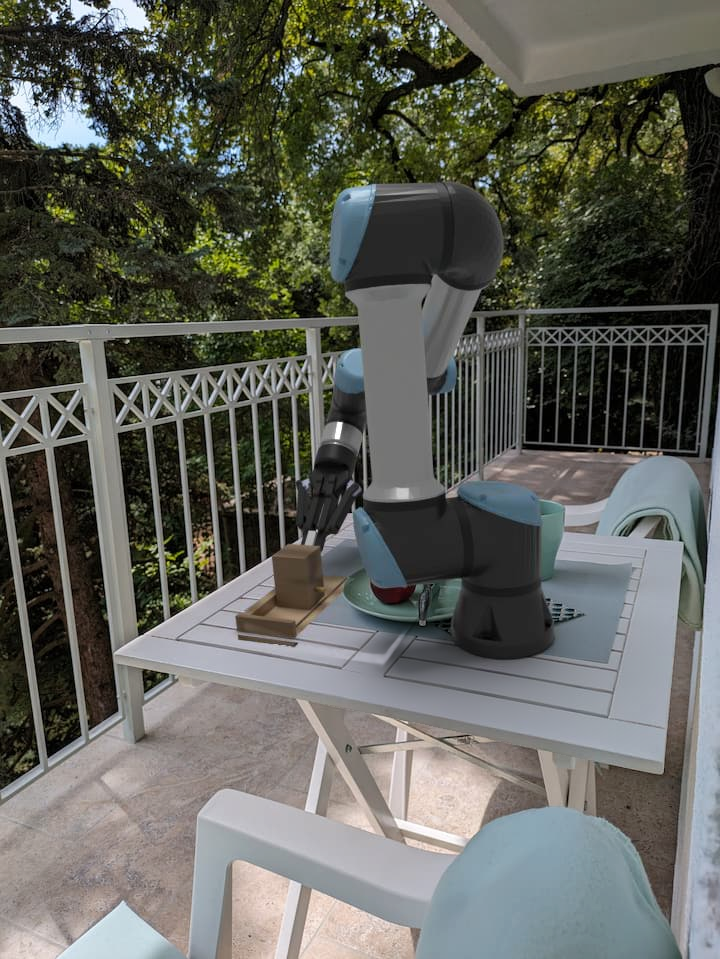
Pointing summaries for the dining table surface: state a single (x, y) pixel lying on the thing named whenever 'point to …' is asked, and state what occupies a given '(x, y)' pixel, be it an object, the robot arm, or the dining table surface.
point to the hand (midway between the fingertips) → (305, 567)
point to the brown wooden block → (298, 576)
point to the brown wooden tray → (284, 615)
